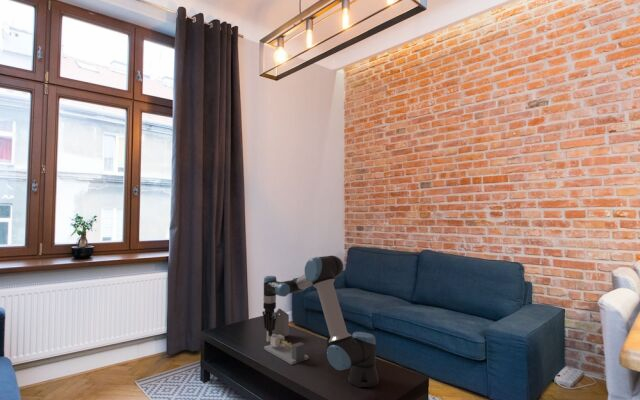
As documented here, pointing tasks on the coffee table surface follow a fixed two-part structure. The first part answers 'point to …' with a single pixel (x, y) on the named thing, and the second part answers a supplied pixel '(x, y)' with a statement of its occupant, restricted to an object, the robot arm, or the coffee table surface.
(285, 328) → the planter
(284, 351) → the light grey blocky piece
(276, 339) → the sleeve
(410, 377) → the coffee table surface
